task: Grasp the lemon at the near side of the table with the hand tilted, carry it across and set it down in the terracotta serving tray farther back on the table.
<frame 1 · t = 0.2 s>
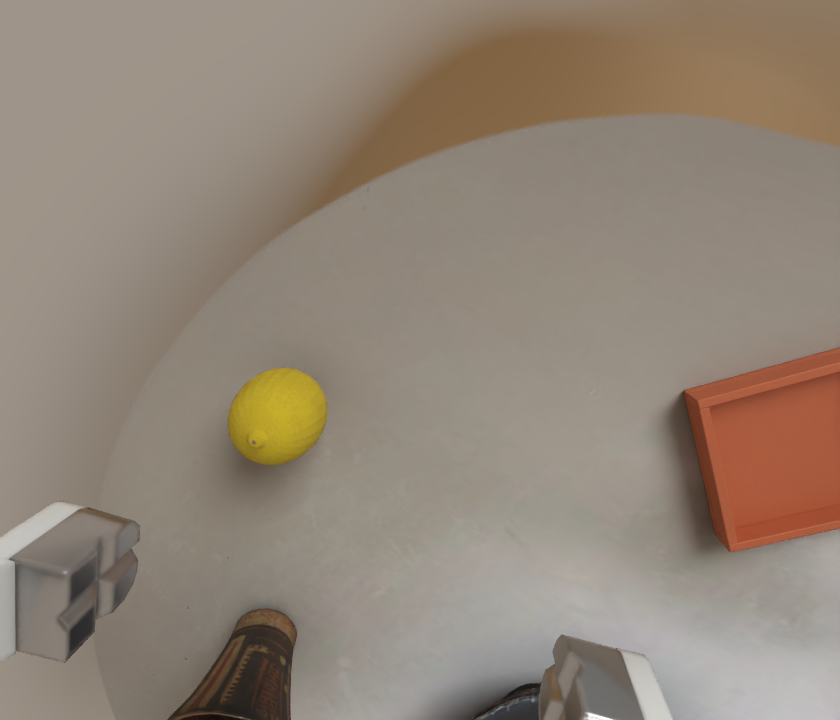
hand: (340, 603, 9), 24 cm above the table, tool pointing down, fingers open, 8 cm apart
cup: (278, 637, 40), on the table
lemon: (301, 392, 34), on the table
tray: (787, 443, 32), on the table
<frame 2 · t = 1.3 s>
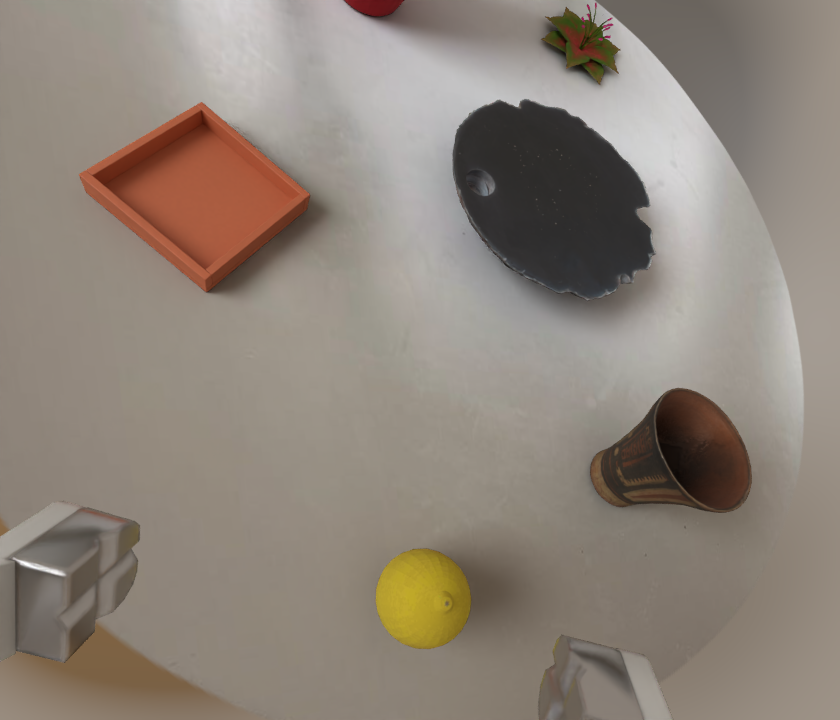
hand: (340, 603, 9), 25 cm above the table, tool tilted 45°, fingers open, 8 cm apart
lily flower: (578, 50, 63), on the table
board: (532, 221, 50), on the table
cup: (612, 465, 43), on the table
lemon: (401, 590, 34), on the table
tray: (204, 201, 39), on the table
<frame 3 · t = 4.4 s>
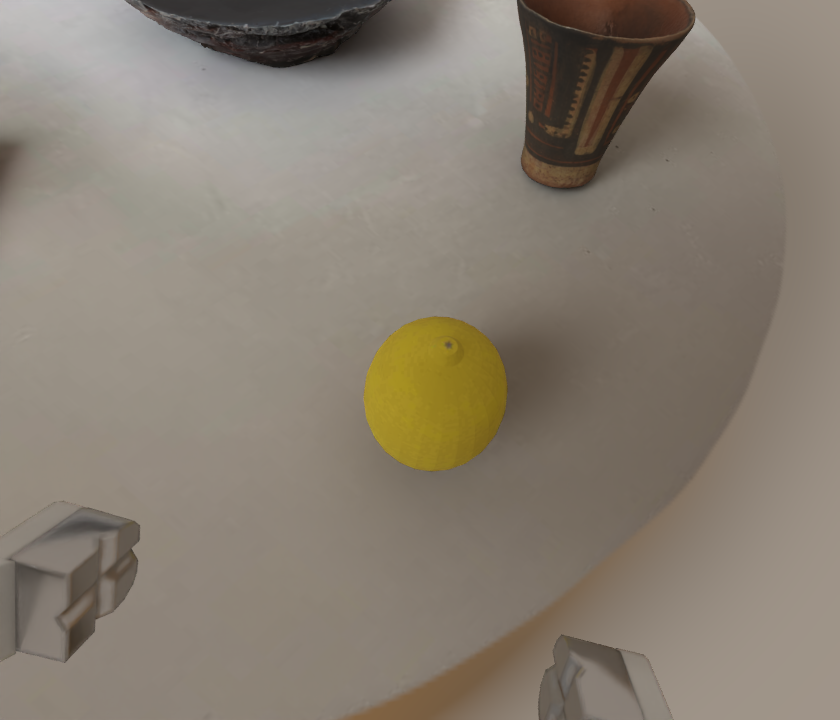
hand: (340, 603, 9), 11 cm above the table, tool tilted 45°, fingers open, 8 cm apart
board: (272, 18, 39), on the table
cup: (547, 160, 33), on the table
lemon: (424, 434, 23), on the table
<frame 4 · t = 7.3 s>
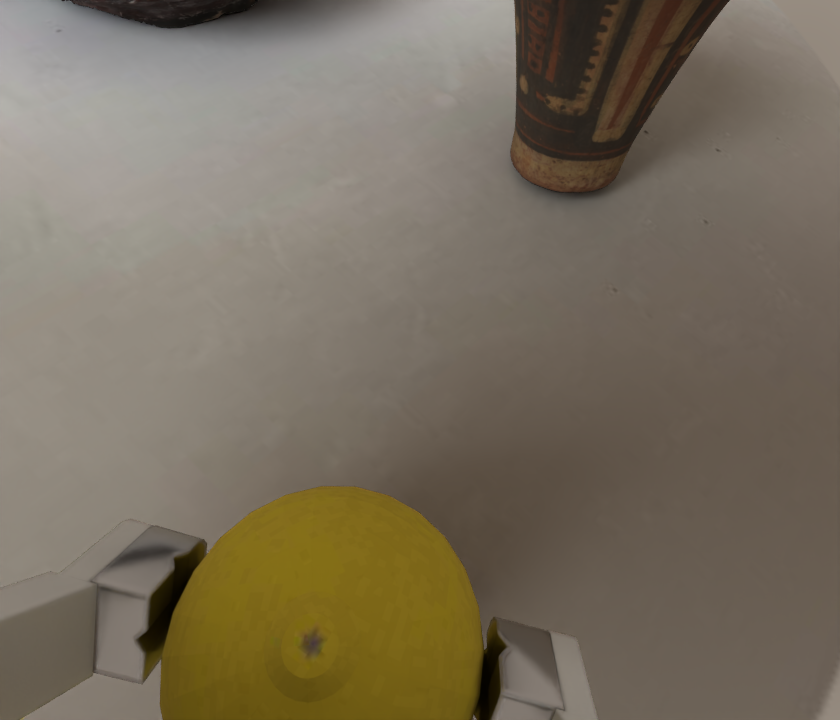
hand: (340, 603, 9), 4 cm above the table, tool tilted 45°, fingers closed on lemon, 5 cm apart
cup: (548, 152, 23), on the table
lemon: (345, 638, 13), on the table, touching gripper
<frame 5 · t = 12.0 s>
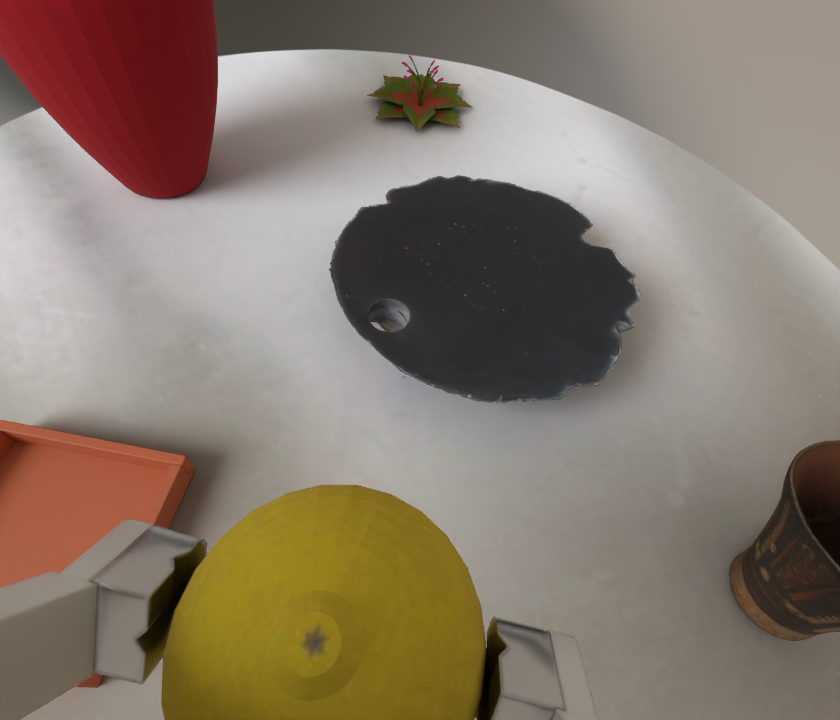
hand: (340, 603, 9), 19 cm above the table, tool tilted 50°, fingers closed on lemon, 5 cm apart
lily flower: (419, 108, 55), on the table
board: (473, 312, 39), on the table
cup: (756, 571, 30), on the table
lemon: (347, 637, 13), point 15 cm above the table, touching gripper
tray: (52, 545, 27), on the table
vase: (167, 178, 45), on the table
when the fingers open (5 cm above the table, at t = 17.2 s): lemon stays where it is, resting on tray.
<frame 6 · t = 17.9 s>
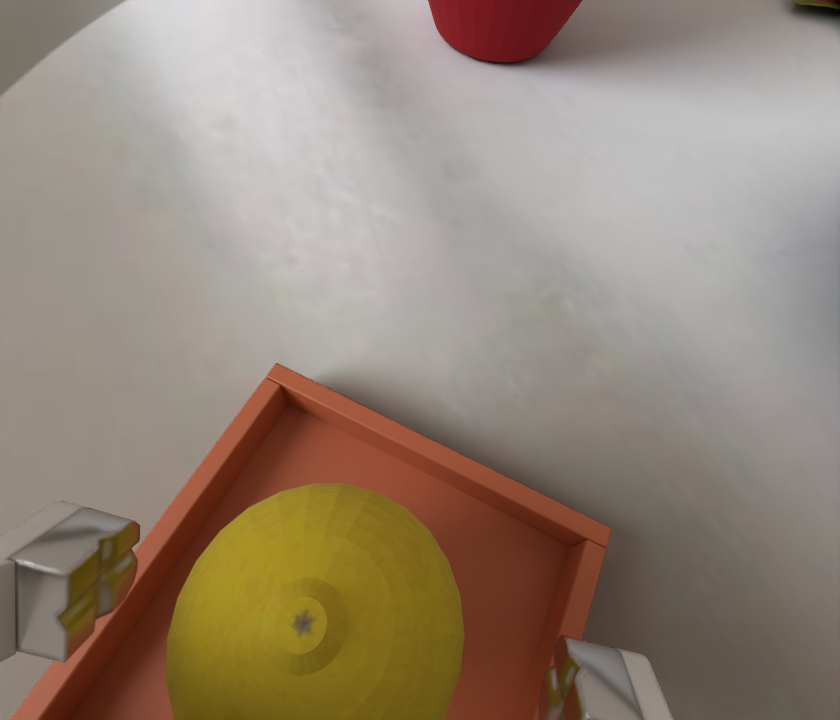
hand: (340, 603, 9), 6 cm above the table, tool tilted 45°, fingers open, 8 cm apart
lemon: (339, 627, 14), resting on tray
tray: (343, 631, 14), on the table
vase: (491, 36, 30), on the table
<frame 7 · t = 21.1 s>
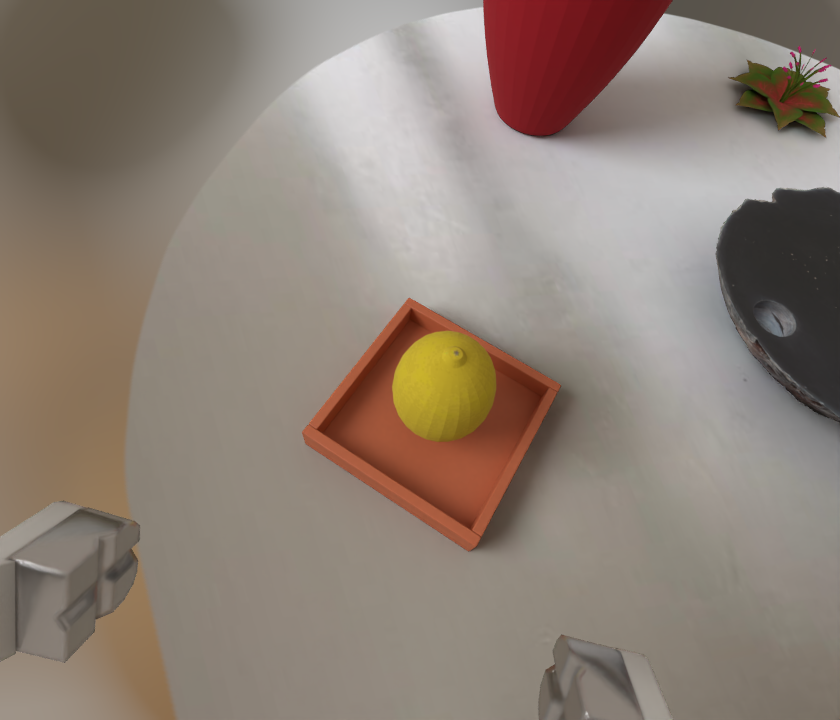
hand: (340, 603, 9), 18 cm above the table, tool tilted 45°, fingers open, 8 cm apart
lily flower: (778, 104, 51), on the table
board: (820, 339, 37), on the table
lemon: (433, 416, 30), resting on tray
tray: (434, 419, 31), on the table
vase: (530, 115, 46), on the table
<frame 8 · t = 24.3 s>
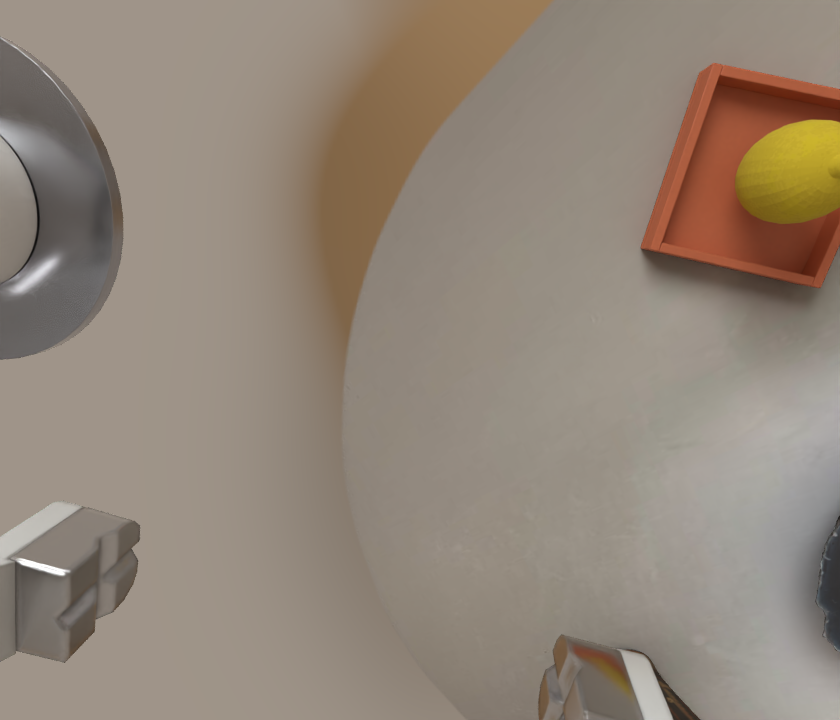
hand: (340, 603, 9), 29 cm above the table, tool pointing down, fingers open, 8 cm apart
cup: (638, 668, 43), on the table
lemon: (756, 180, 32), resting on tray
tray: (752, 182, 33), on the table
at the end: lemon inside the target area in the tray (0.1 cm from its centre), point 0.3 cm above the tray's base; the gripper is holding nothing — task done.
